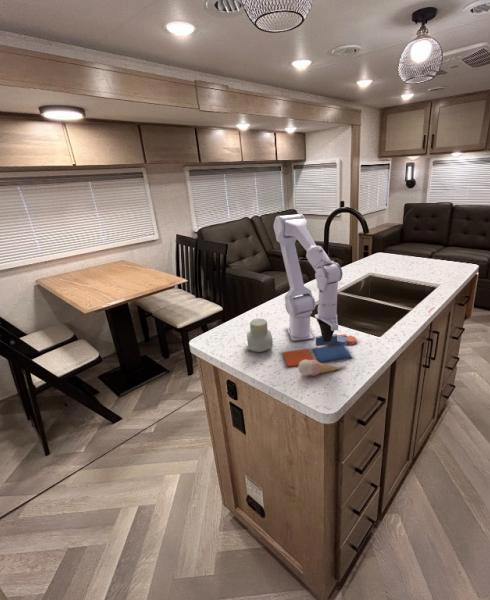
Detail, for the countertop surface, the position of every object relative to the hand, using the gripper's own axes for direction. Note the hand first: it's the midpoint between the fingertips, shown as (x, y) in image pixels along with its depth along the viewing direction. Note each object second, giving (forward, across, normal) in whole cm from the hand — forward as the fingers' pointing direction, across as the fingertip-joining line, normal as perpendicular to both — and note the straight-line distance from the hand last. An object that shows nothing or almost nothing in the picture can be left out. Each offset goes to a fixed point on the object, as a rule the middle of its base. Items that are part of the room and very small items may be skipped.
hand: (326, 339), depth 105 cm
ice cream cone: (+6, +8, -5) cm, 11 cm away
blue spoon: (+2, 0, +2) cm, 2 cm away
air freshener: (+6, -10, -21) cm, 24 cm away
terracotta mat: (+6, 0, -10) cm, 11 cm away
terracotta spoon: (+6, -6, +8) cm, 11 cm away
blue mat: (+6, 0, +2) cm, 6 cm away
